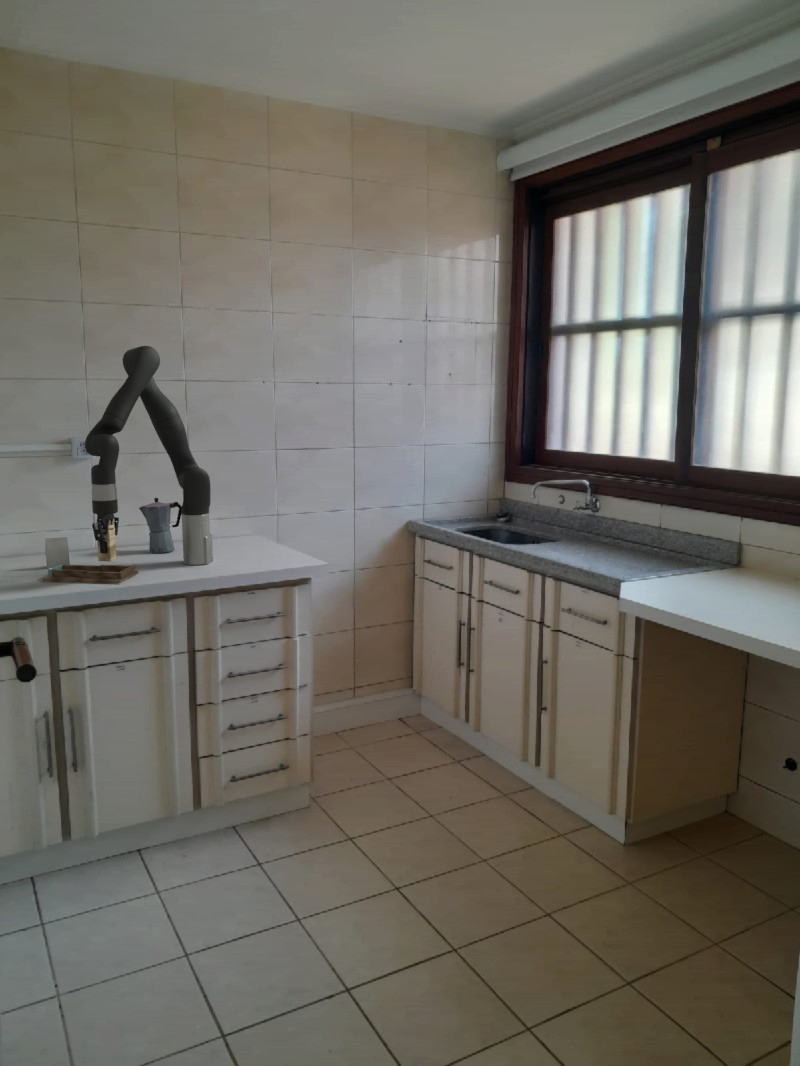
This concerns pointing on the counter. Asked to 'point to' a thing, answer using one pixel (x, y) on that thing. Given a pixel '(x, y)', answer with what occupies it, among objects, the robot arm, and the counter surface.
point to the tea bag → (56, 552)
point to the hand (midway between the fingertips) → (107, 551)
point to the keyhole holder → (90, 573)
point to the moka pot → (160, 525)
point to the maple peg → (110, 544)
